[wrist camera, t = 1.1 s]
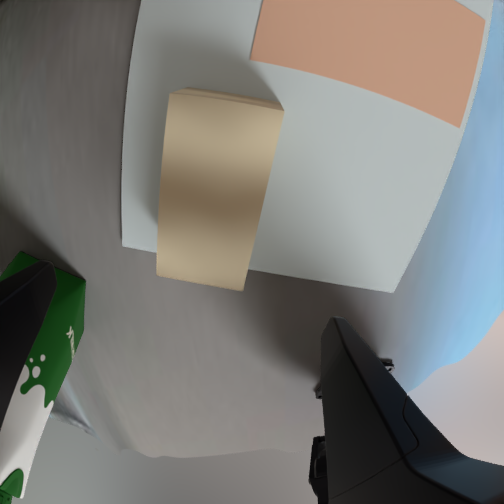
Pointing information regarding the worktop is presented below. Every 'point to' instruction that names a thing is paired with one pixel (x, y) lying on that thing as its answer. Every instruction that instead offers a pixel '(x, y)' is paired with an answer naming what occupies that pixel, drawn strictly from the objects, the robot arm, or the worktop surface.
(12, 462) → the milk carton
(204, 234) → the beige wooden block
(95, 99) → the worktop surface
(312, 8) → the mat
